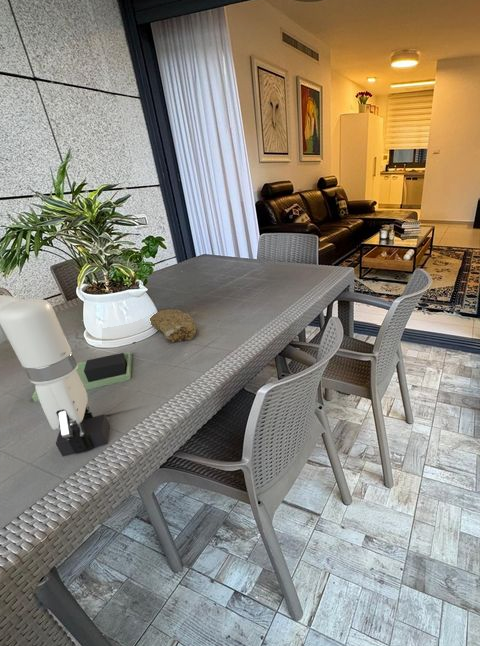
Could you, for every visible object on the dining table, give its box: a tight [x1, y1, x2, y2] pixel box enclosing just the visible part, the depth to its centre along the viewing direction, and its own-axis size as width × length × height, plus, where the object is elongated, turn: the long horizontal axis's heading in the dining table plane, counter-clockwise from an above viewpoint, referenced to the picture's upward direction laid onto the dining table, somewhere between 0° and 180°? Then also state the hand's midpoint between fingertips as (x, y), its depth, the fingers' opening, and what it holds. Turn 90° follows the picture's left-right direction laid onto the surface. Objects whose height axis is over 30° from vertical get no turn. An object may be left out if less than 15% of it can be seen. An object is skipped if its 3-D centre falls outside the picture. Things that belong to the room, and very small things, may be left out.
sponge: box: [150, 308, 197, 343], centre depth 116 cm, size 13×8×20 cm
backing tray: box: [31, 351, 133, 403], centre depth 94 cm, size 21×13×2 cm, turn 113°
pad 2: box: [84, 352, 127, 382], centre depth 95 cm, size 9×6×4 cm, turn 114°
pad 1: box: [55, 413, 111, 457], centre depth 72 cm, size 8×6×4 cm
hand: (86, 438), depth 73 cm, fingers closed on pad 1, 6 cm apart
